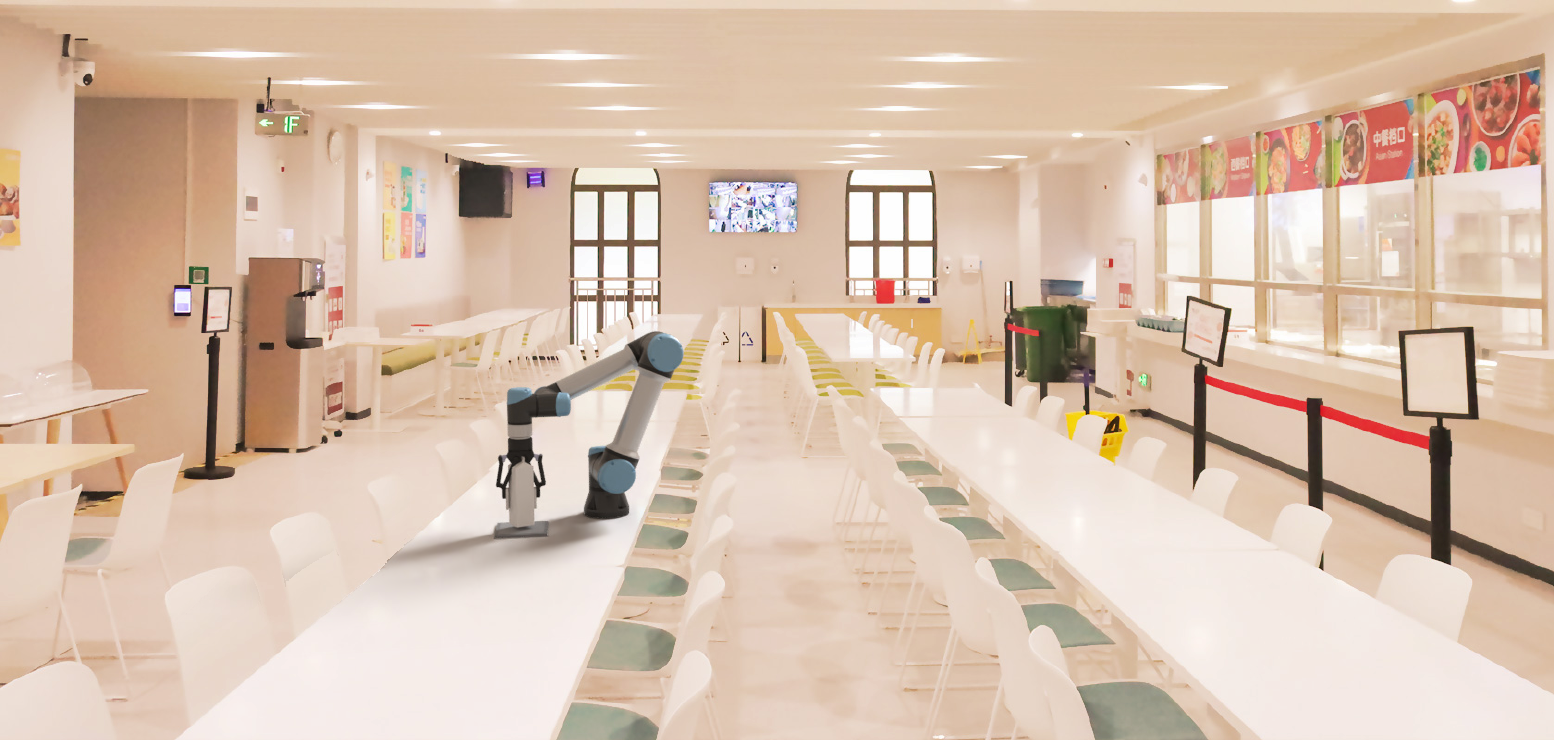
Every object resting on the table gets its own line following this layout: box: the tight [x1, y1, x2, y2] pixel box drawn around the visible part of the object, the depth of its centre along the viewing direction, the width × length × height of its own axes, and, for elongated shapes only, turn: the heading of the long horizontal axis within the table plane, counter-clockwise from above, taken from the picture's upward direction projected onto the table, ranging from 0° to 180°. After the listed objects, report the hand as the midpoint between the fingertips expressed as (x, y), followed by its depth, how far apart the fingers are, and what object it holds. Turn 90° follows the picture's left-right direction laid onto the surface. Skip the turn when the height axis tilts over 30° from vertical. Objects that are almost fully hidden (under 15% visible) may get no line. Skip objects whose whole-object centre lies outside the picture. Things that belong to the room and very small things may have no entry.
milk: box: [507, 457, 535, 528], centre depth 341 cm, size 6×6×22 cm
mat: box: [493, 520, 549, 539], centre depth 342 cm, size 16×16×1 cm
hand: (521, 508), depth 342 cm, fingers closed on milk, 8 cm apart
